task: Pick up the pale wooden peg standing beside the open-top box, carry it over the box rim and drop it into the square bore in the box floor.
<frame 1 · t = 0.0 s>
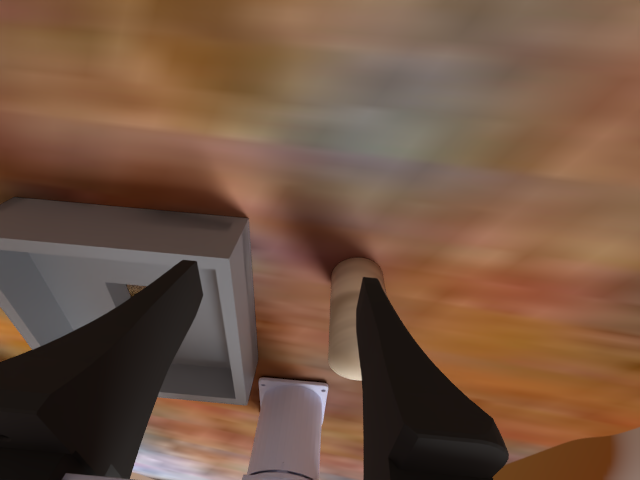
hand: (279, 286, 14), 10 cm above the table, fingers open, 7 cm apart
peg: (356, 277, 26), on the table
box: (158, 292, 29), on the table
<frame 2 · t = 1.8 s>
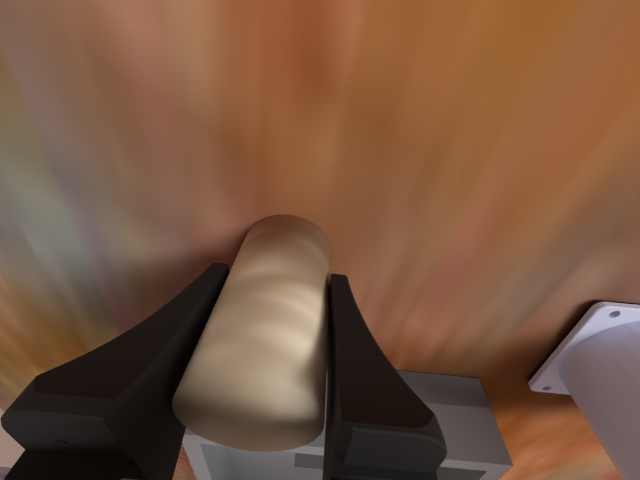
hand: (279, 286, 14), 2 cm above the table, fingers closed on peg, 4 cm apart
peg: (287, 252, 16), on the table, touching gripper
box: (331, 428, 26), on the table
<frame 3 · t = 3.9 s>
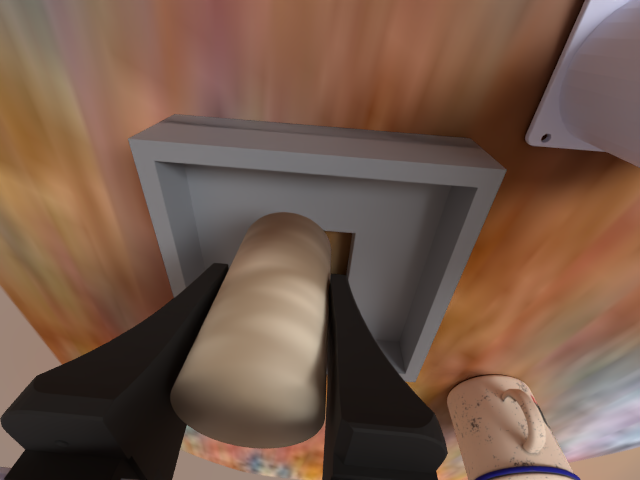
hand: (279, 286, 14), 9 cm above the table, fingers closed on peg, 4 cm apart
teacup with lid: (488, 386, 34), on the table
peg: (287, 250, 15), point 7 cm above the table, touching gripper
box: (313, 246, 24), on the table
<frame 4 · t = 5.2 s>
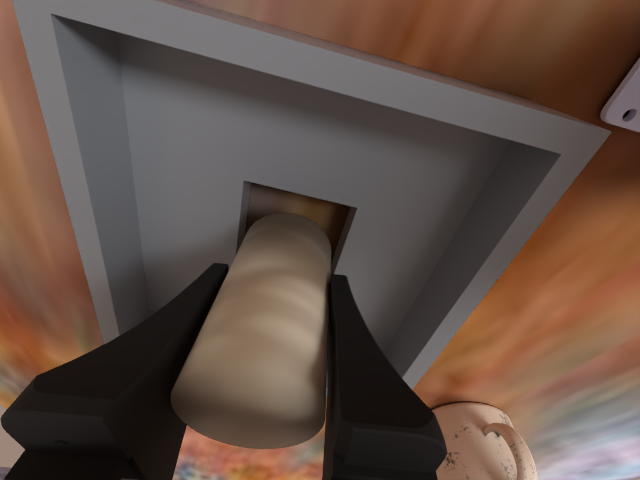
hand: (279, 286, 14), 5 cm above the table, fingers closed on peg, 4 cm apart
teacup with lid: (466, 414, 30), on the table
peg: (287, 251, 16), point 3 cm above the table, touching gripper
box: (295, 221, 18), on the table
when the fingers open (3 cm above the table, at t = 6.2 s): peg stays where it is, resting in box.
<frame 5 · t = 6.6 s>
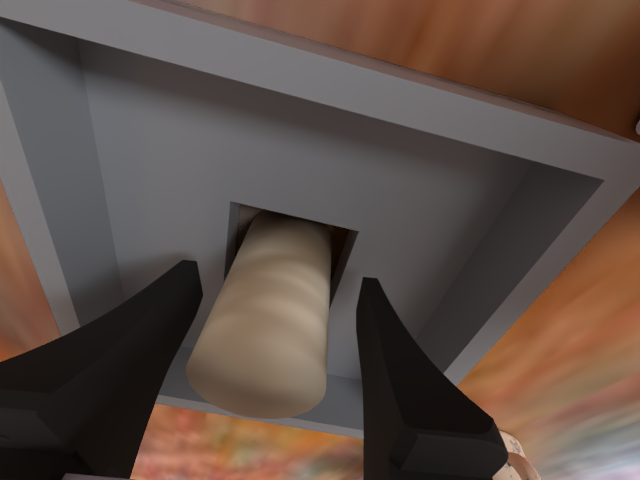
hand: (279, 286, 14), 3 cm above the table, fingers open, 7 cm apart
teacup with lid: (473, 437, 28), on the table
peg: (290, 240, 16), resting in box
box: (290, 241, 16), on the table
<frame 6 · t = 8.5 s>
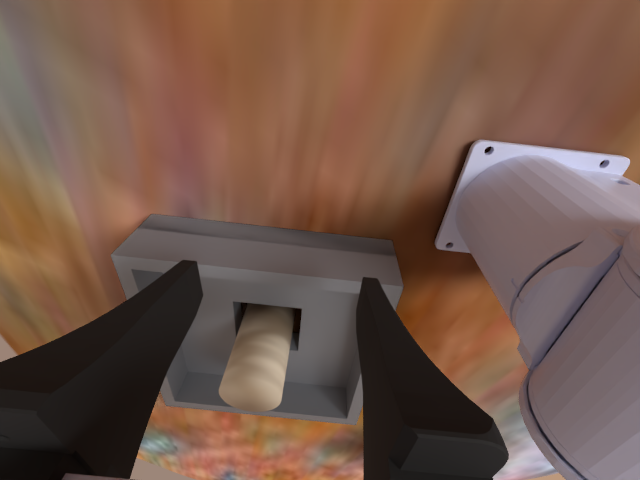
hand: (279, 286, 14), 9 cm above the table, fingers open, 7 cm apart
peg: (271, 309, 28), resting in box
box: (271, 310, 28), on the table
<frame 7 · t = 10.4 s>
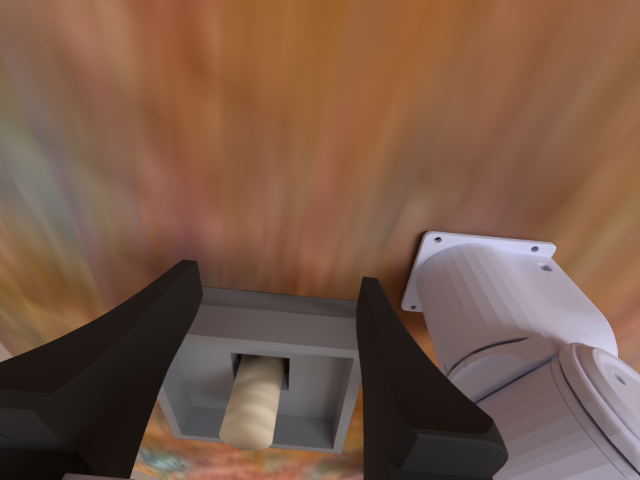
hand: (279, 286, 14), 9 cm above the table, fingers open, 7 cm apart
peg: (264, 354, 32), resting in box
box: (265, 354, 32), on the table
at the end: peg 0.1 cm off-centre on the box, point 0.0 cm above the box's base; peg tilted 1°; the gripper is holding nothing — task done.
